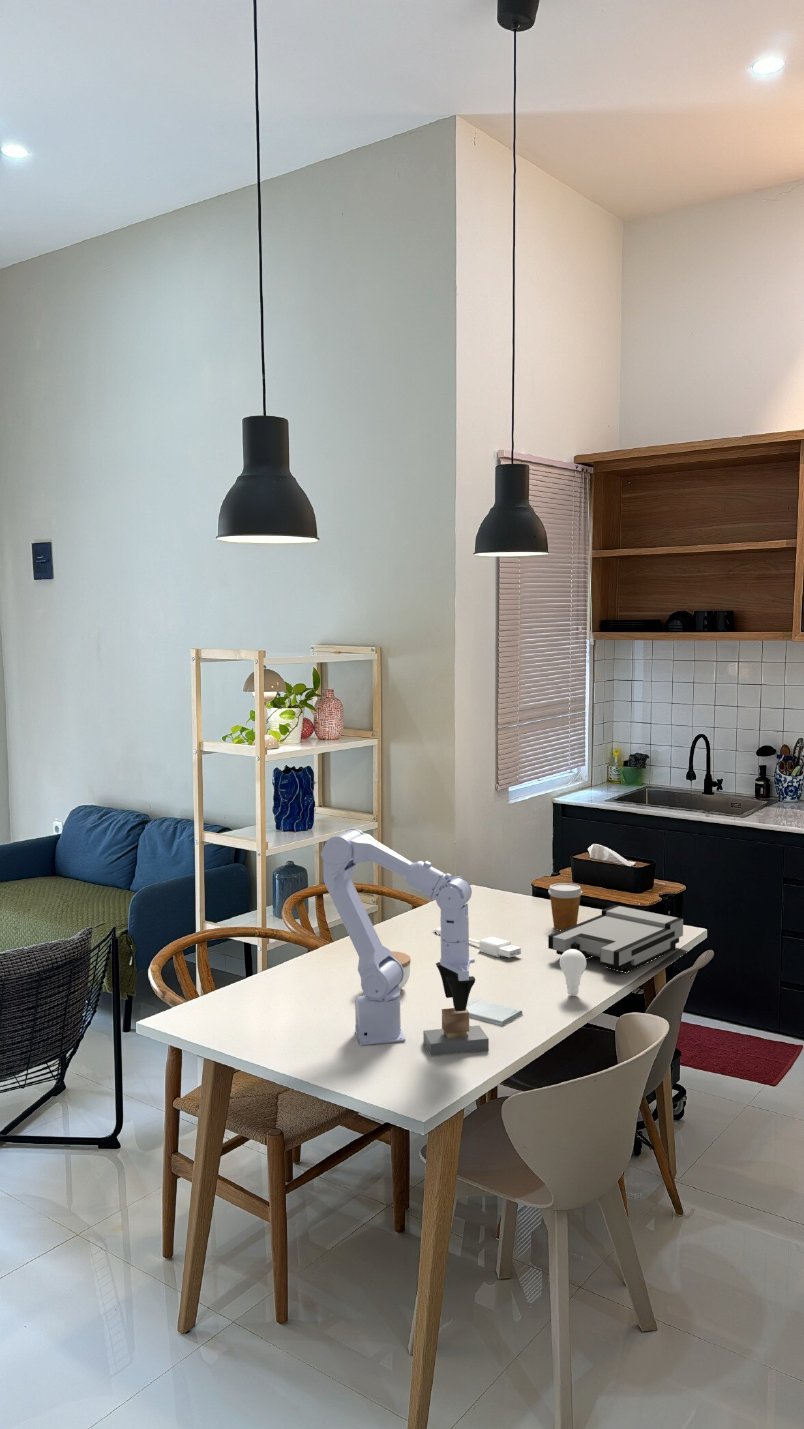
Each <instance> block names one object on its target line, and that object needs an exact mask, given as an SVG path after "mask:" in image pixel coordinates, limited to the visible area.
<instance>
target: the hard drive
mask: <svg viewBox="0 0 804 1429" xmlns="http://www.w3.org/2000/svg"><path fill="white" fill-rule="evenodd" d="M466 1009H467V1010H468V1012H469V1018H472V1019H475V1020H479V1021H483V1022H486V1023H490V1024H494V1025H497V1026H501V1027H503V1026H505V1025H507V1024H508V1023H511V1022H512V1021H514V1020H516V1019H518V1018H520V1017H521V1016H523V1010H521V1009H517V1008H513V1007H509V1006H504V1005H500V1004H497V1003H494V1002H489V1001H485V1000H481V999H476V998H474V999H472V1000H470V1001H468V1002H467V1007H466Z"/></svg>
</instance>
